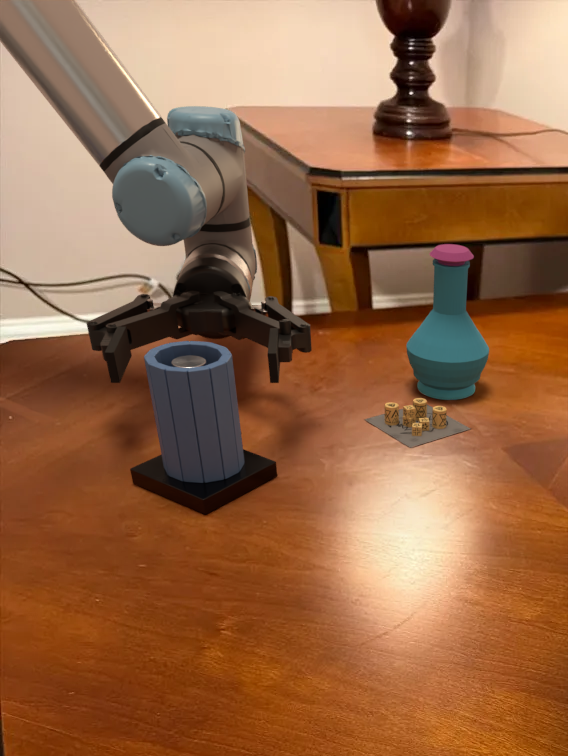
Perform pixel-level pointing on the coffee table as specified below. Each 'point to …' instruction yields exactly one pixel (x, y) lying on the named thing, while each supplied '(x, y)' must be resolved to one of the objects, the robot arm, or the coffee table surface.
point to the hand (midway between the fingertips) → (193, 368)
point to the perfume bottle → (448, 332)
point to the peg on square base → (204, 494)
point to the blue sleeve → (196, 412)
